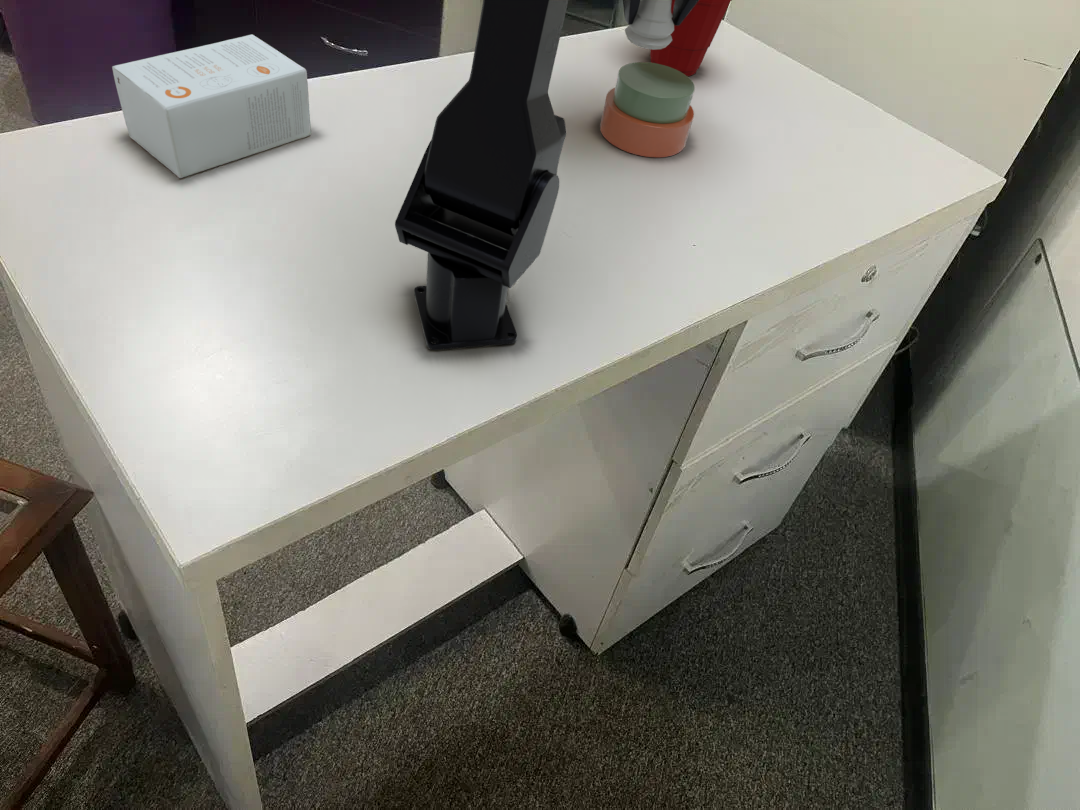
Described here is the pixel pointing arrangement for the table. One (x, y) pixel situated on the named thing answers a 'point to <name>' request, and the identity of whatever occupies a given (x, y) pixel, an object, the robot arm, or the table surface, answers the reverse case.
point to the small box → (213, 103)
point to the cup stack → (648, 110)
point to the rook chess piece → (652, 25)
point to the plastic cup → (692, 37)
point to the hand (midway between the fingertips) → (652, 23)
